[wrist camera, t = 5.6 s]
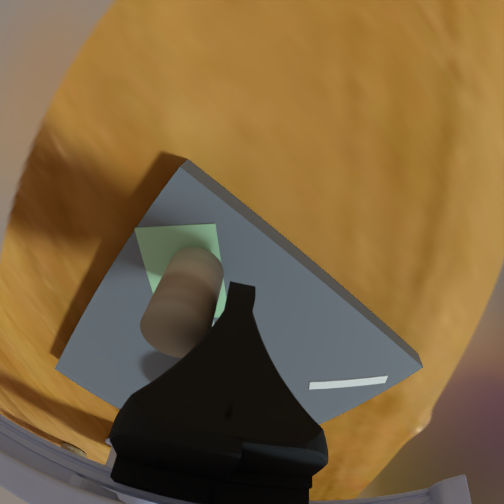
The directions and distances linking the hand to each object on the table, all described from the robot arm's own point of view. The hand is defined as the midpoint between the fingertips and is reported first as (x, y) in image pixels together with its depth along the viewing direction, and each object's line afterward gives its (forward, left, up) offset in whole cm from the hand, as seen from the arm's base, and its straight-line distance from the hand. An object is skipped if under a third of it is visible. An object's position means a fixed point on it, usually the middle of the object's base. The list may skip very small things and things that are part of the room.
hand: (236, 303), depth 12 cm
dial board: (-8, -4, -3) cm, 10 cm away
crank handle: (-5, -2, -2) cm, 6 cm away
